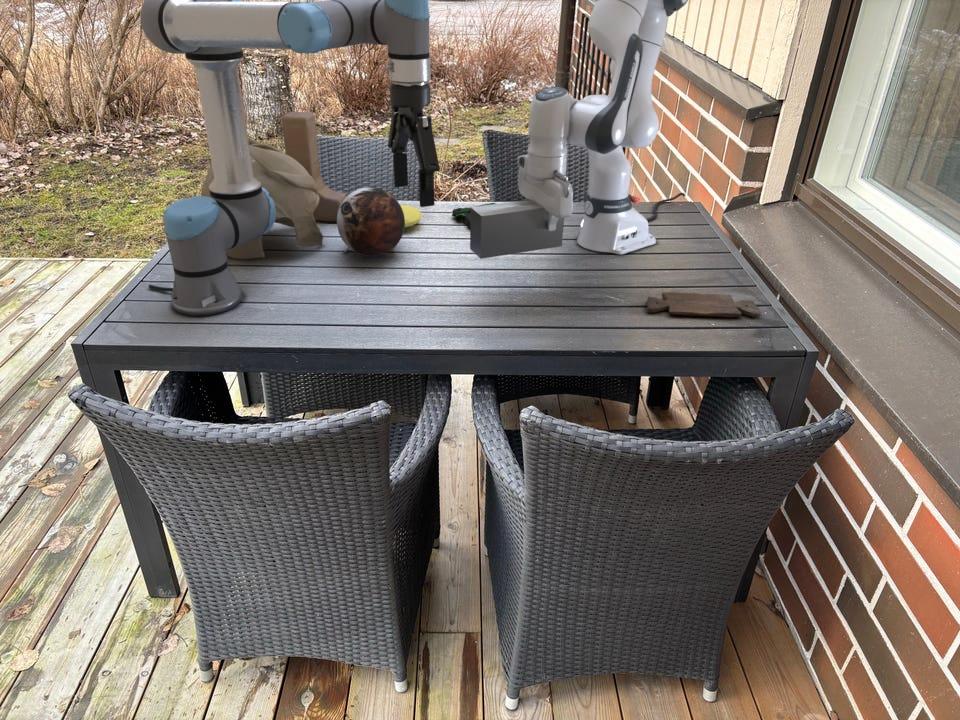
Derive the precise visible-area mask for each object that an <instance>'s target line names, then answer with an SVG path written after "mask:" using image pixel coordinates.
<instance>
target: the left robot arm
mask: <svg viewBox="0 0 960 720" xmlns="http://www.w3.org/2000/svg"><path fill="white" fill-rule="evenodd" d="M140 8H141V9H140V14H139V17H140V25H141V29H142V30H143V33H144V35H145V37H146V39H148V41H149V42H150V43H151V44H152V45H153V46H155V47H156V48H157V49H159V50H161V51H163V52H165V53H170V54H174V55H175V54H176V55H182V54H184V55H185V60H186V62H188V63H189V64H190V65H192V66H193V67H194V68H195V74H196V80H197V85H198V91H199V92H198V93H199V97H200V98H199V99H200V103H201V109H202V115H203V120H204V121H203V122H204V124H205V125H204V126H205V132H206V138H207V143H208V149H209V155H210V161H211V165H212V167H213V173H214V180H213V182H212V183H211V184H210V185H209V191H210V197H211V198H210V197H206V196H201V195H197V196H192V197H190V198H189V197H186V198H182V199H179V200H177V201H174V202H173V203H171V204H170V205H169V206H167V207H166V209H164V211H163V214H162V219H163V230H164V231H163V232H164V235H165V236H166V237H165V238H166V240H167V245H168V249H169V250H168V251H169V254H170V258H171V259H170V260H171V264H172V268H173V272H174V279H173V285H172V287H165V286H157V285H153V284H149V285H148V288H149V289H153V290H156V291H160V292H161V291H162V292H172V294H171V302H172V303H171V304H172V308H173V310H175V311H176V312H177V313H180V314H182V315H186V316H192V317H203V316H212V315H213V316H214V315H217V314H221V313H224V312H228V311H229V310H231V309H234V308H235V307H237V306H238V305H239V304H240V303H241V301H242V300H243V295H242V289H241V287H240V285H239V283H238V281H237V280H236V278H235V276H234V274H233V272H232V270H231V269H230V267H229V262H228V255H226V251H227V250H229V249H232V248H234V247H236V246H239V245H241V244H243V243H246V242H248V241H250V240H253V239H257V238H259V237H260V236H261V235H262V236H263V235H265V234H267V233H268V232H269V231H270V230H271V229H272V228H273V227H274V223H275V222H274V221H275V216H276V210H275V204H274V201H273V199H272V198H270V197H269V195H270V194H269V193H268V191H267V190H265V189H264V188H263V187H262V186H261V182H260V181H259V180H257V179H256V178H255V177H254V176H253V170H252V163H251V156H250V149H249V142H248V138H249V135H248V130H247V129H248V128H247V122H246V116H245V107H244V102H243V101H244V100H243V93H242V87H241V80H240V74H239V73H240V72H239V65H240V64H241V63H242V61H243V60H244V49H257V50H258V49H259V50H260V49H261V50H287V51H288V50H289V51H290V50H291V51H292V52H293V53H296V54H300V55H301V54H306V55H307V54H317V53H320V52H323V51H327V50H328V51H329V50H332V49H339V48H345V47H350V46H351V47H352V46H355V45H357V46H358V45H366V44H367V45H381V46H387V57H388V63H386V66H385V67H386V70H388V77H389V80H390V82H391V83H390V84H389V102H390V104H391V120H390V127H389V133H388V141H387V147H388V149H391V152H392V163H393V165H392V166H393V184H394V185H393V186H394V187H395V188H403V187H408V186H409V172H408V154H407V153H408V152H409V150H408V147H407V146H408V143H409V141H411V142H412V145H413V148H414V152H415V154H416V158H417V161H418V165H419V170H418V171H417V174H418V185H419V186H418V188H419V189H418V191H419V207H420V208H426V207H433V206H435V173H436V172H440V169H441V168H440V163H439V158H438V152H437V148H436V147H437V146H436V142H435V137H434V133H433V123H432V115H424V108H425V107H428V106H429V105H431V103H432V95H431V94H432V92H431V91H432V89H431V88H432V87H431V84H430V83H429V82H430V80H431V79H432V77H431V76H432V73H431V56H430V19H431V14H430V9H429V8H430V7H429V0H320V1H319V0H318V1H243V0H144V1H143V4H142V5H141V7H140Z"/></svg>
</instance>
